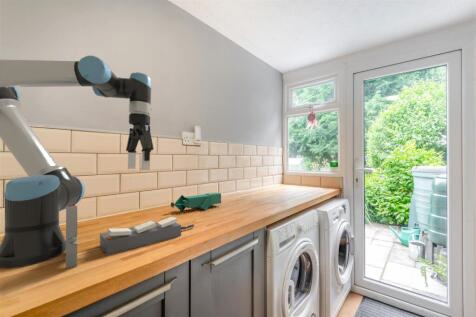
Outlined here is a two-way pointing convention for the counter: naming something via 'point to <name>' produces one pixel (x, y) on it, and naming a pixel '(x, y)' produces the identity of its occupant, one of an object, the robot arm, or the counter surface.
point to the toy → (197, 201)
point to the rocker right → (167, 222)
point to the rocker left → (119, 231)
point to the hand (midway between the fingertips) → (138, 169)
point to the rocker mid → (144, 226)
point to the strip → (139, 238)
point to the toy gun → (71, 236)
